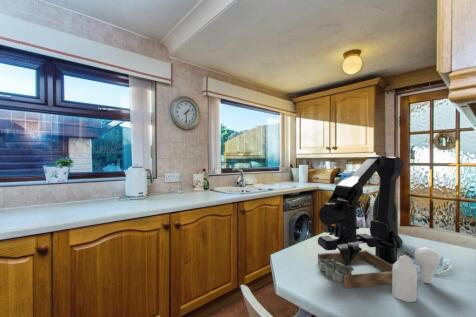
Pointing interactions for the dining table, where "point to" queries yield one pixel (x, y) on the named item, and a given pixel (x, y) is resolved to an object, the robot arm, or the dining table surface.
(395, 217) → the beer bottle
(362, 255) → the open wooden frame
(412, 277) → the roll
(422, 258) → the lightbulb
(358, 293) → the dining table surface
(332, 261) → the egg carton
